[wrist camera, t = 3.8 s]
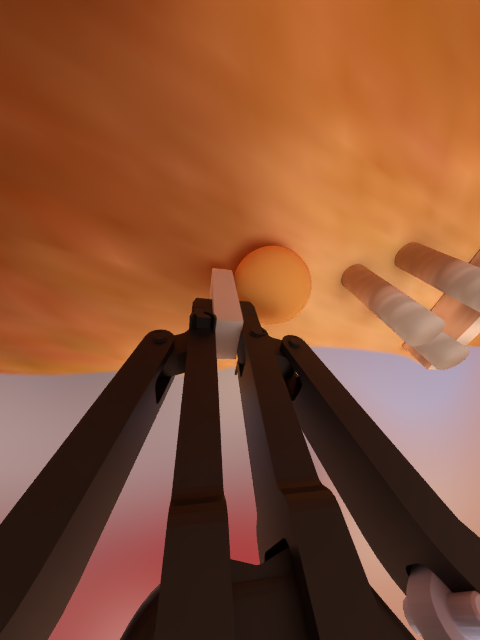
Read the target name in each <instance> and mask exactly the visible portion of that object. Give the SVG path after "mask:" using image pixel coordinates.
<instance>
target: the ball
mask: <svg viewBox="0 0 480 640" xmlns="http://www.w3.org/2000/svg"><path fill="white" fill-rule="evenodd" d="M234 281H235V286H236V290H237V295H238V299H239V301H249V302H251V303H252V304H253V305H254V307H255V310H256V313H257V316H258V319H259V322H260V323H263V324H279V323H283V322H286V321H288V320H290V319H292V318H293V317H295V316H296V315H297V314H298V313H300V311H301V310H302V309H303V308H304V306H305V305H306V303H307V301H308V299H309V296H310V292H311V276H310V272H309V269H308V267H307V265H306V264H305V262H304V261H303V259H302V258H301V257H300V256H299V255H298V254H296V253H295V252H293V251H292V250H290V249H287V248H285V247H281V246H265V247H261V248H258V249H256V250H254V251H252V252H251V253H249V254H248V255H247V256H246V257H245V258H244V259H243V260H242V261H241V262H240V264H239V265H238V267H237V269H236V271H235V274H234Z"/></svg>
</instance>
